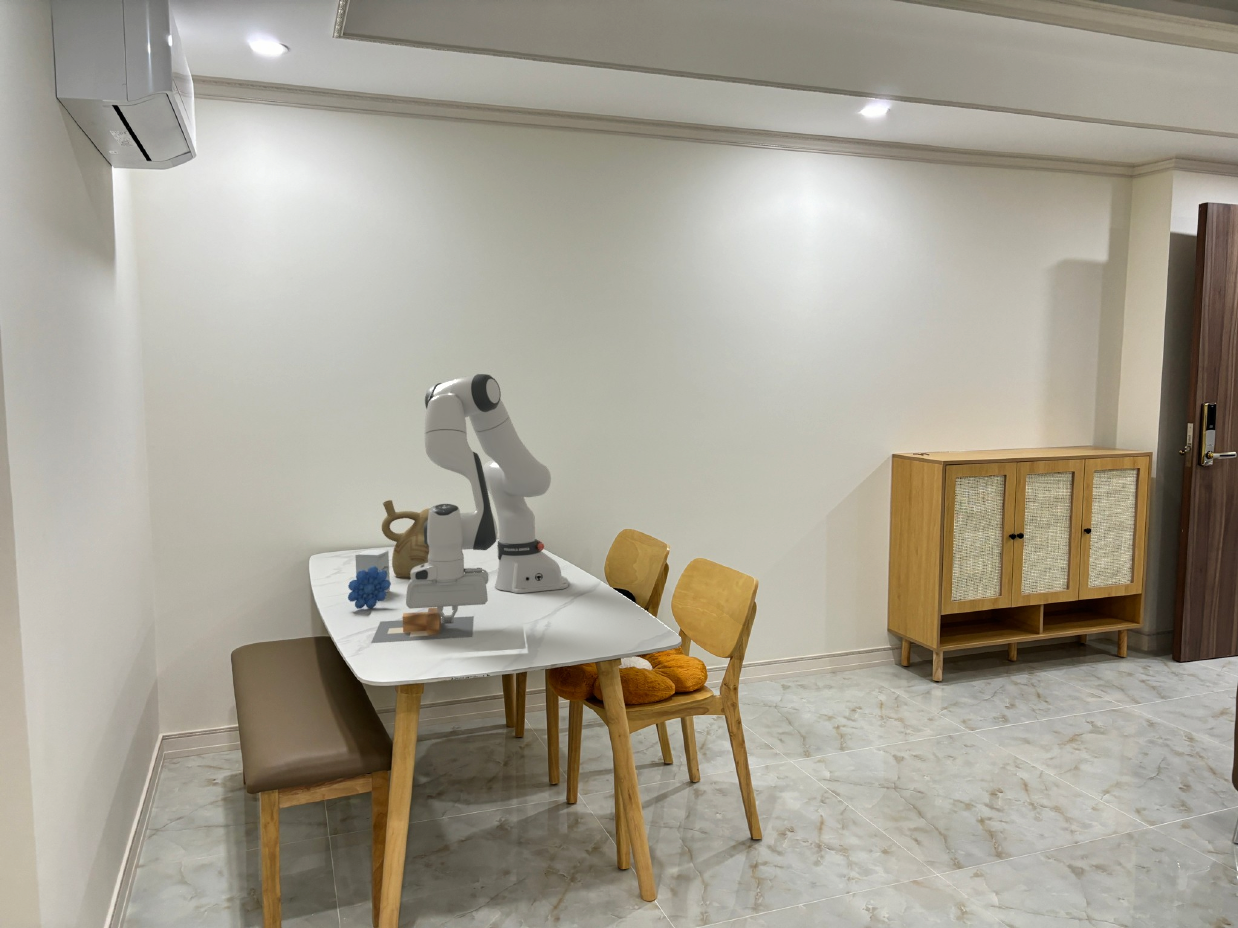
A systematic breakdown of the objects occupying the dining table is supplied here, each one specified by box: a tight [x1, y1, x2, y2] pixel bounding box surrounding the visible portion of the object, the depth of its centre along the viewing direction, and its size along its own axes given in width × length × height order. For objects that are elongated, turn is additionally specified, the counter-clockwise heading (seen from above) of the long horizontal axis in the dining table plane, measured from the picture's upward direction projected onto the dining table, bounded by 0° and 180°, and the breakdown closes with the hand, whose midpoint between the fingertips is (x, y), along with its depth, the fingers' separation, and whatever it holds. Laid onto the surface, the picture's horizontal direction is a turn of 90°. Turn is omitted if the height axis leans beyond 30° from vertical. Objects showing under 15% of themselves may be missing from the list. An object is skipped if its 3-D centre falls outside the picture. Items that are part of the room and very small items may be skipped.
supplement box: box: [355, 549, 391, 593], centre depth 255 cm, size 7×7×13 cm
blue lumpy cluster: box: [347, 566, 392, 610], centre depth 239 cm, size 12×7×12 cm, turn 110°
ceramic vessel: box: [381, 499, 431, 579], centre depth 278 cm, size 17×20×25 cm
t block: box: [402, 607, 442, 635], centre depth 215 cm, size 9×10×4 cm
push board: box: [370, 615, 474, 644], centre depth 216 cm, size 24×18×1 cm
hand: (448, 622), depth 216 cm, fingers closed
